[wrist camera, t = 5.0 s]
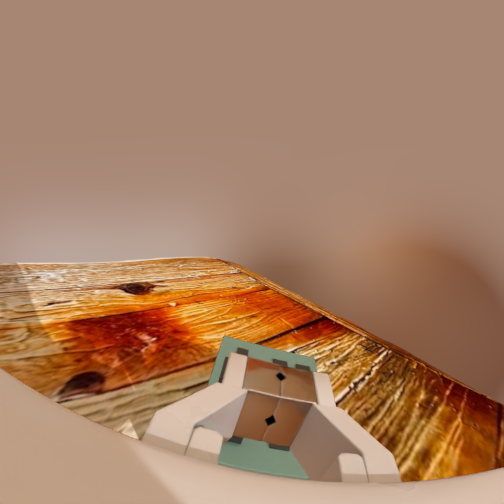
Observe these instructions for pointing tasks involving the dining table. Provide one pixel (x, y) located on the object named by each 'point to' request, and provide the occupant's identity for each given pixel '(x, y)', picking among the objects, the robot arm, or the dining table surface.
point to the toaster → (253, 451)
